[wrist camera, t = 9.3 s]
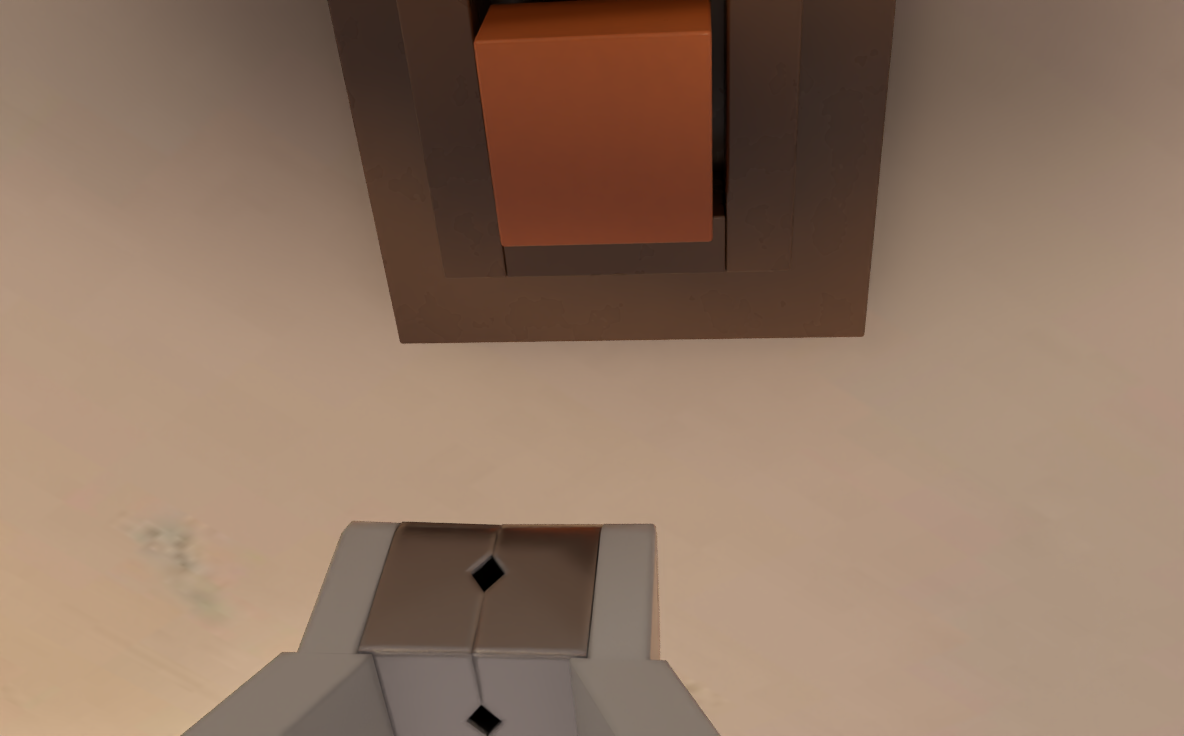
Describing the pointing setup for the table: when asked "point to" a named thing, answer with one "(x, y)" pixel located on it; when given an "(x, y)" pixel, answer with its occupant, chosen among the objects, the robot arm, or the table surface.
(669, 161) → the key
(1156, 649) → the table surface
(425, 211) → the brown button base
